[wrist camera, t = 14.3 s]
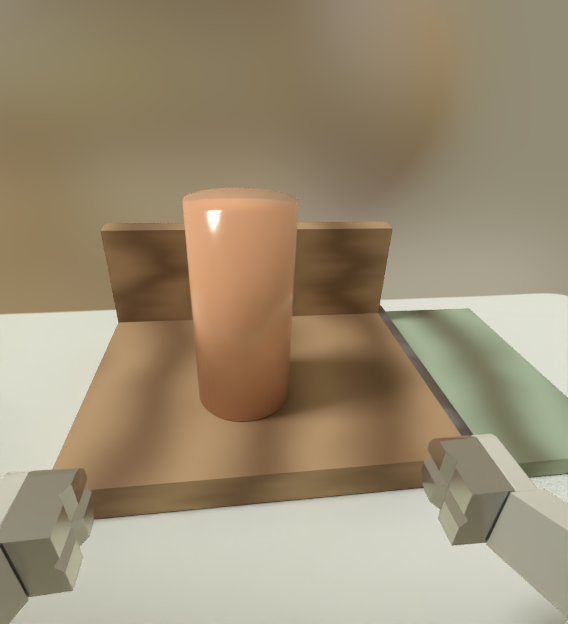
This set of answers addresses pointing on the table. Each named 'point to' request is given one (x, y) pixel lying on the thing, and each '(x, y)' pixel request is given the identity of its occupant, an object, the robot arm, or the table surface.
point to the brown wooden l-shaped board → (297, 386)
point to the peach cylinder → (241, 297)
